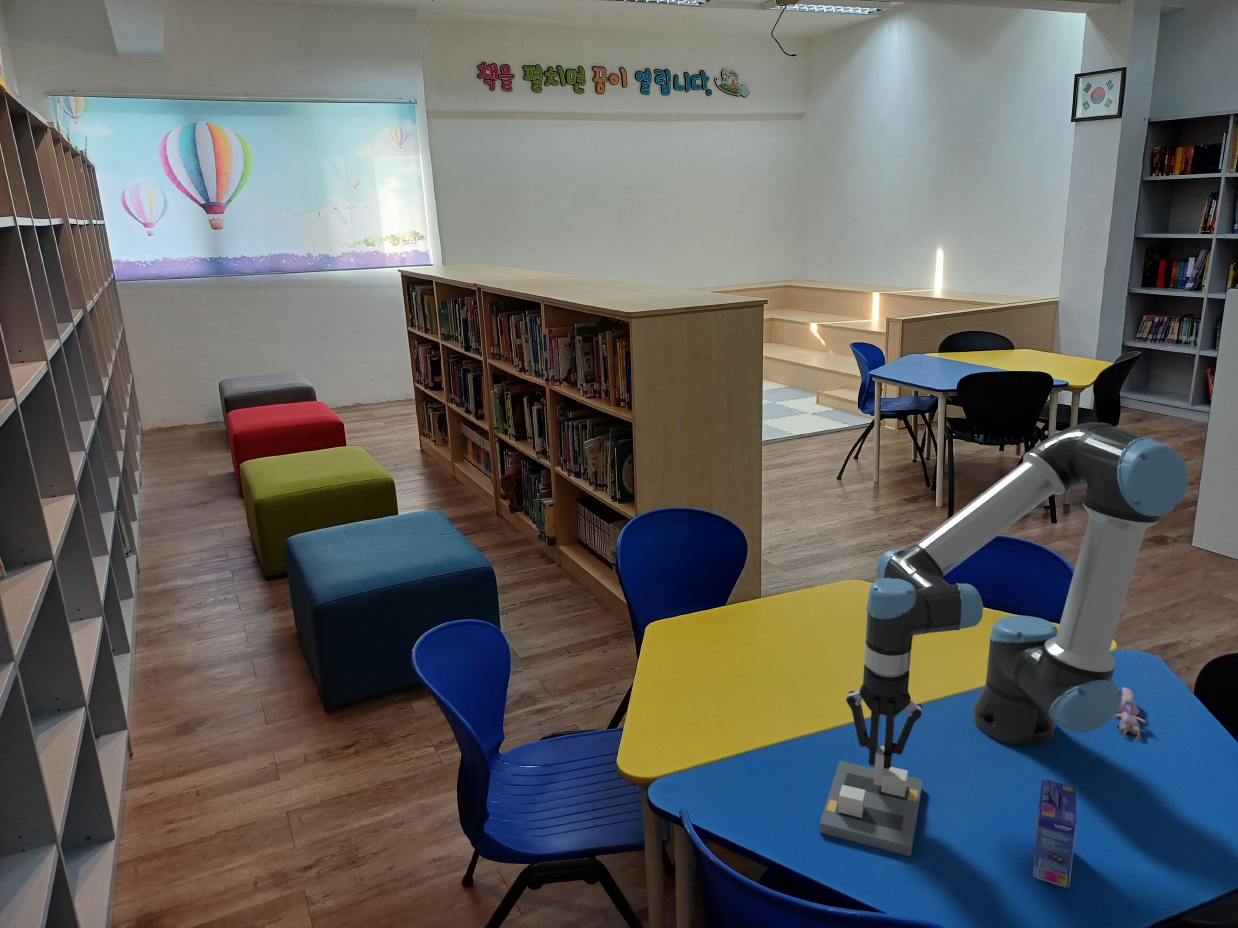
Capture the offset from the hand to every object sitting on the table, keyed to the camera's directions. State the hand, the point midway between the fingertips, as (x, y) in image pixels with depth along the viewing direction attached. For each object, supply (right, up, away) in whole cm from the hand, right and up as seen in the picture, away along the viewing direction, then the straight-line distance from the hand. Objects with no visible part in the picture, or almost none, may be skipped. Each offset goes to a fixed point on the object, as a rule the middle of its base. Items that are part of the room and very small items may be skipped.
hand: (878, 780), depth 155 cm
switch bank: (-2, -4, -2) cm, 5 cm away
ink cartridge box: (+23, -8, -15) cm, 29 cm away
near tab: (-6, -3, -5) cm, 9 cm away
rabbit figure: (+56, +5, +20) cm, 60 cm away
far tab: (+2, -1, -1) cm, 3 cm away
